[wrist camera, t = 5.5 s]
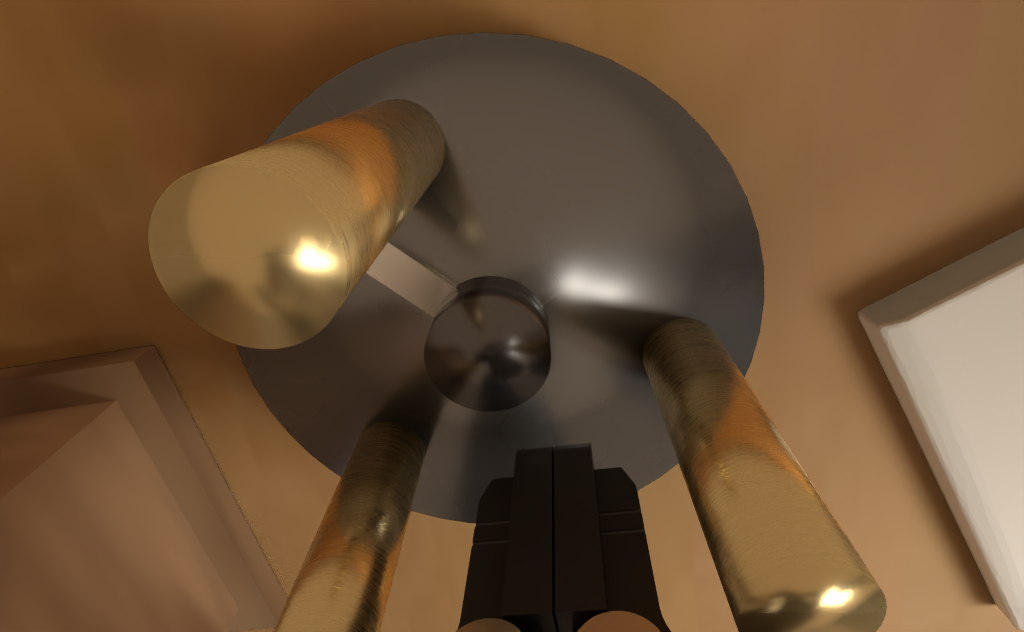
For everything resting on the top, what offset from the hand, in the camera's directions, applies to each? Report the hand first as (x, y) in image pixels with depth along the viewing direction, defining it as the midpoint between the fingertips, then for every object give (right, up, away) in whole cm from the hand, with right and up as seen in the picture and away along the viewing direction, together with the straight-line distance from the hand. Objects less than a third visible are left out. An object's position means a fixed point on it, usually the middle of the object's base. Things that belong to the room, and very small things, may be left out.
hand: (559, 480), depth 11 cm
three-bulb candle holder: (-1, +4, +2) cm, 5 cm away
